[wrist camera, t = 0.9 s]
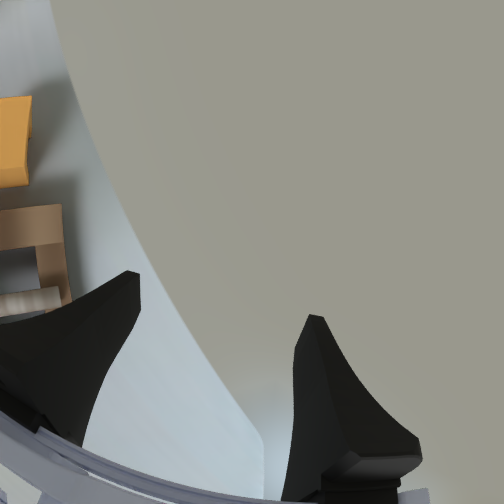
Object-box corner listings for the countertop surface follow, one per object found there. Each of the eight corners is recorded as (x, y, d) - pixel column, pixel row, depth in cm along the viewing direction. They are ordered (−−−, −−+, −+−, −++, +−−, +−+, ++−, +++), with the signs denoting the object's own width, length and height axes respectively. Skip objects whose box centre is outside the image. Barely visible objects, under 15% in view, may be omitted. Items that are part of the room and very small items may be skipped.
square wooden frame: (-16, 379, 16) (-23, 402, 13) (-47, 222, 15) (-63, 217, 11) (84, 361, 23) (92, 381, 19) (59, 208, 22) (62, 200, 18)
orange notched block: (-11, 190, 17) (-26, 172, 12) (-6, 131, 17) (-16, 100, 12) (28, 185, 20) (24, 166, 15) (31, 127, 19) (31, 95, 14)
